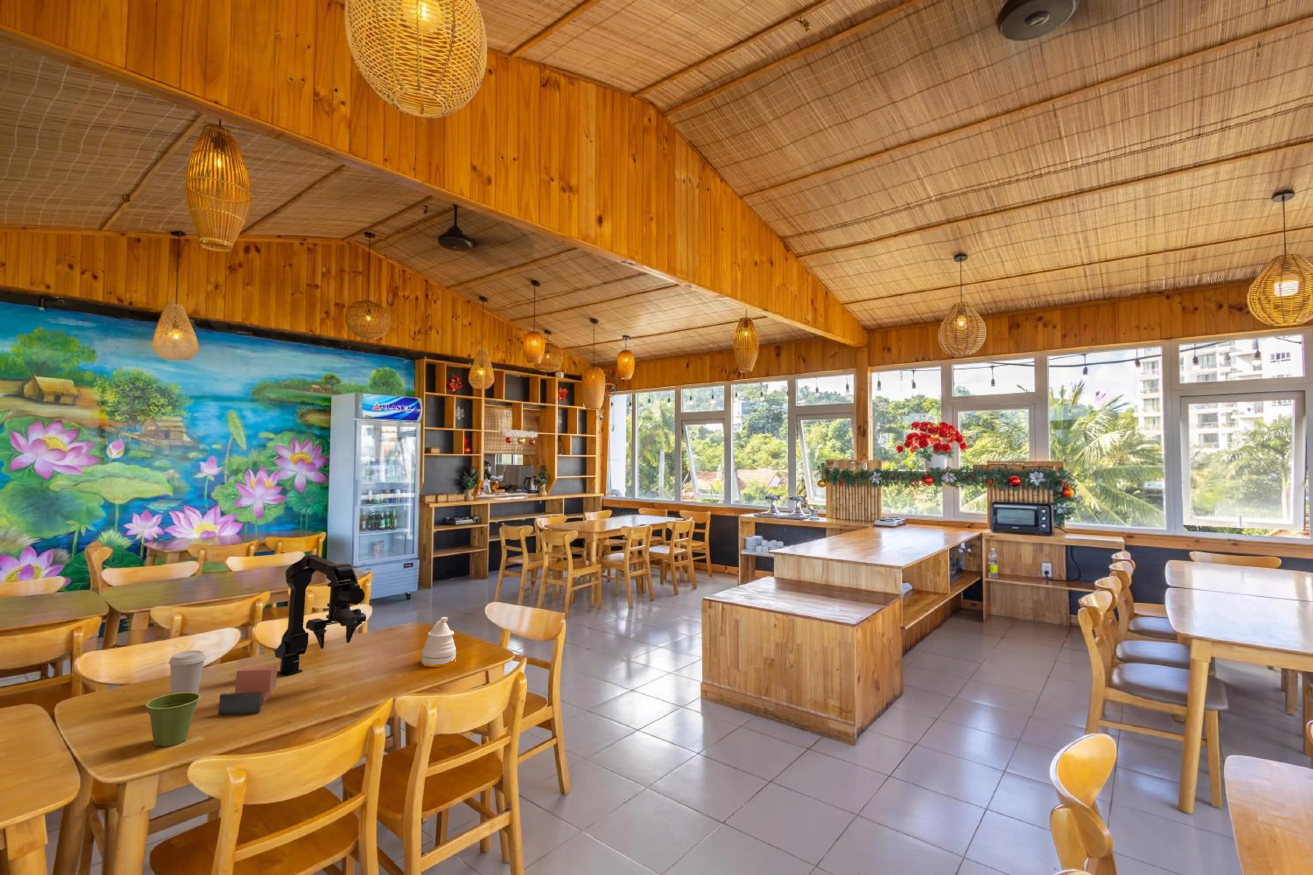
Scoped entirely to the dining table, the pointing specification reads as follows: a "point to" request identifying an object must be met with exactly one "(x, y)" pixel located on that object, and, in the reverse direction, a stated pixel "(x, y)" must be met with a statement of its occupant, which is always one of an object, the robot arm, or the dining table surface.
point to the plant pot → (172, 717)
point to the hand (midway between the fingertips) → (335, 645)
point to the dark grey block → (240, 703)
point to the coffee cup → (186, 671)
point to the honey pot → (439, 644)
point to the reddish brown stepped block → (256, 680)
